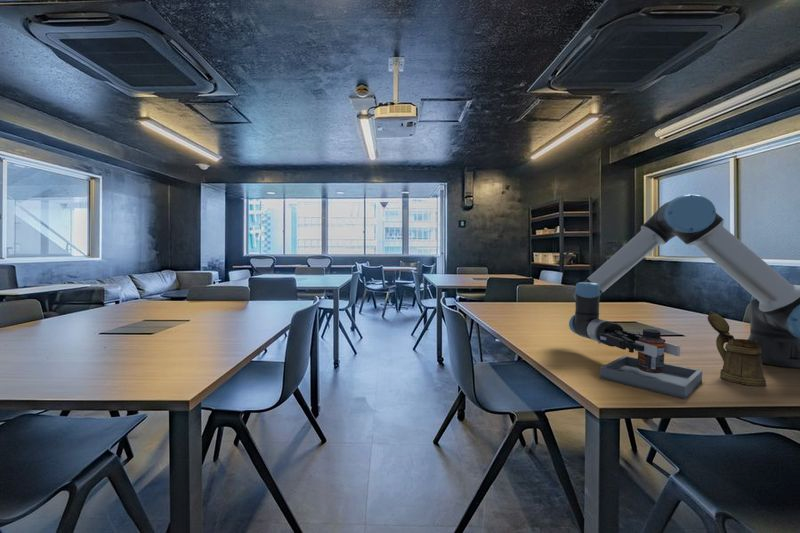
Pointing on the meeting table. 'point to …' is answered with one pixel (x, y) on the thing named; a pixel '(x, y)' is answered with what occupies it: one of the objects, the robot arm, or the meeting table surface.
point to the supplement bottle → (649, 362)
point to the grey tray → (653, 377)
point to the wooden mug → (737, 355)
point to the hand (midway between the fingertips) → (667, 351)
